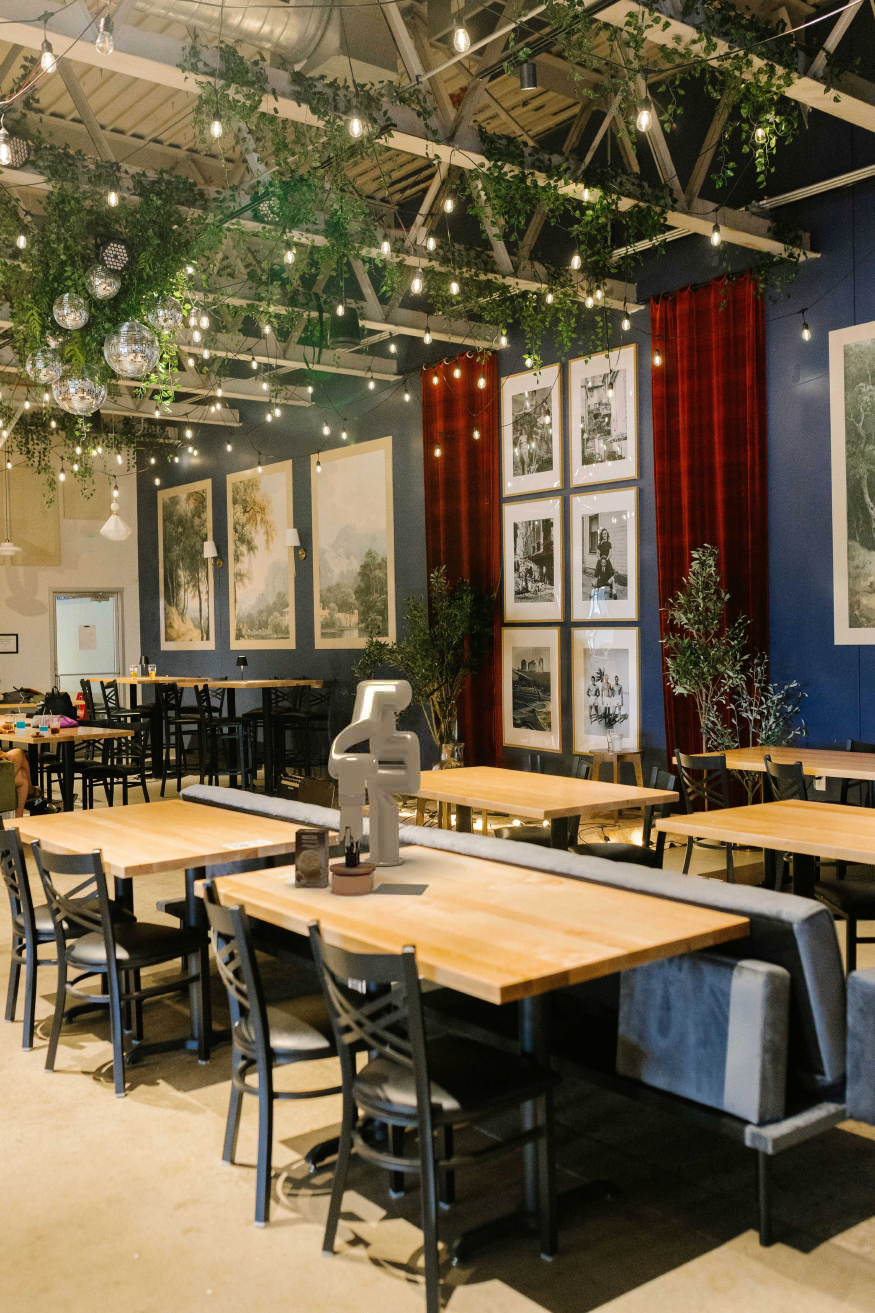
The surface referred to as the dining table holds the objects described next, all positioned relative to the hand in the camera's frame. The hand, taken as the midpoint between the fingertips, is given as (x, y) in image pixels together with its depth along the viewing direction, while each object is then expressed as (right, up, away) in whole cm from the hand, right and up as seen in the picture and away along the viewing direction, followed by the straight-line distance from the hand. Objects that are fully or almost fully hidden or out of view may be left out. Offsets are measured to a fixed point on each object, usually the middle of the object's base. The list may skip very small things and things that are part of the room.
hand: (352, 865), depth 299 cm
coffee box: (-13, -8, +10) cm, 18 cm away
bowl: (0, -8, 0) cm, 8 cm away
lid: (0, -1, 0) cm, 1 cm away
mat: (+13, -7, +2) cm, 16 cm away
